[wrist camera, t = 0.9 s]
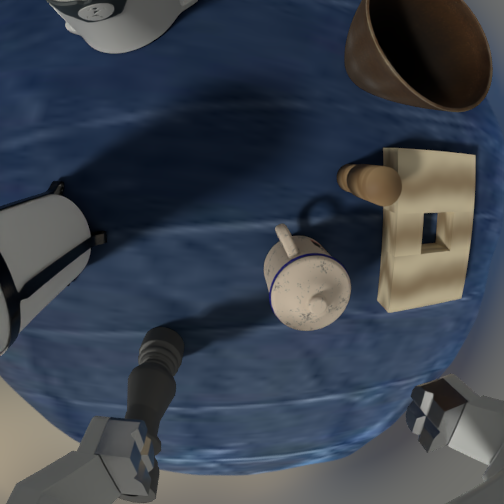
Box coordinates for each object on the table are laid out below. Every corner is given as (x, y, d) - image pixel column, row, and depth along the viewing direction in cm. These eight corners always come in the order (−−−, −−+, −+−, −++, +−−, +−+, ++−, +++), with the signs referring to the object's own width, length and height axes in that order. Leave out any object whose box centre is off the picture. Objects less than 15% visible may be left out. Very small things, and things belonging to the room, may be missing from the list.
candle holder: (189, 335, 43) (164, 487, 20) (178, 365, 45) (153, 509, 21) (149, 320, 42) (93, 464, 18) (140, 352, 44) (92, 489, 20)
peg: (334, 162, 37) (367, 166, 28) (363, 162, 37) (402, 166, 28) (335, 193, 38) (367, 207, 29) (363, 192, 39) (401, 205, 29)
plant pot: (428, 112, 36) (507, 106, 20) (337, 131, 36) (402, 122, 21) (395, 18, 31) (459, -22, 16) (300, 27, 31) (339, -35, 16)
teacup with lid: (337, 280, 42) (370, 321, 31) (278, 307, 43) (293, 358, 32) (306, 200, 39) (335, 220, 27) (240, 231, 39) (244, 262, 28)
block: (383, 147, 37) (397, 148, 33) (458, 153, 38) (475, 155, 34) (377, 300, 44) (388, 312, 40) (447, 288, 44) (461, 298, 41)
